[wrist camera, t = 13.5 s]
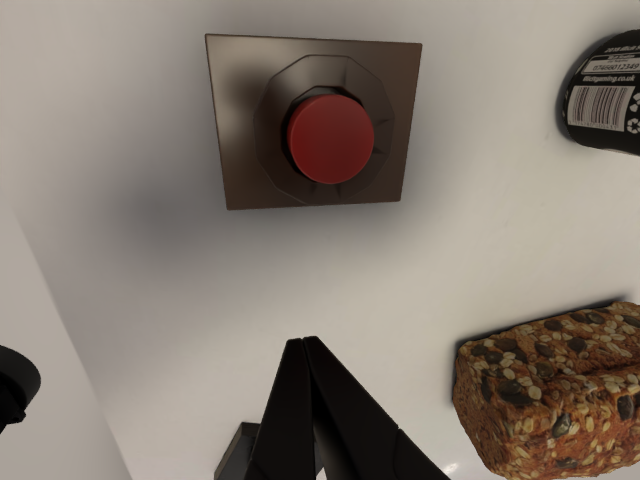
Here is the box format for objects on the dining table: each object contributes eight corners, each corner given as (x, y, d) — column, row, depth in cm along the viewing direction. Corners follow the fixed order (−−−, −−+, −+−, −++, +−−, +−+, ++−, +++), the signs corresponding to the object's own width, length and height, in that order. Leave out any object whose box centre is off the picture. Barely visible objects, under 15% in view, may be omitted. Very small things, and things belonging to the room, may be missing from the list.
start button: (287, 175, 15) (291, 186, 13) (285, 93, 13) (289, 94, 12) (359, 173, 15) (370, 182, 14) (365, 94, 14) (378, 95, 12)
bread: (628, 290, 30) (784, 375, 21) (597, 364, 35) (712, 458, 26) (451, 337, 28) (541, 452, 19) (445, 408, 33) (514, 525, 24)
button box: (229, 197, 18) (224, 224, 15) (210, 39, 15) (196, 25, 11) (386, 190, 20) (414, 213, 17) (403, 47, 17) (443, 38, 13)
